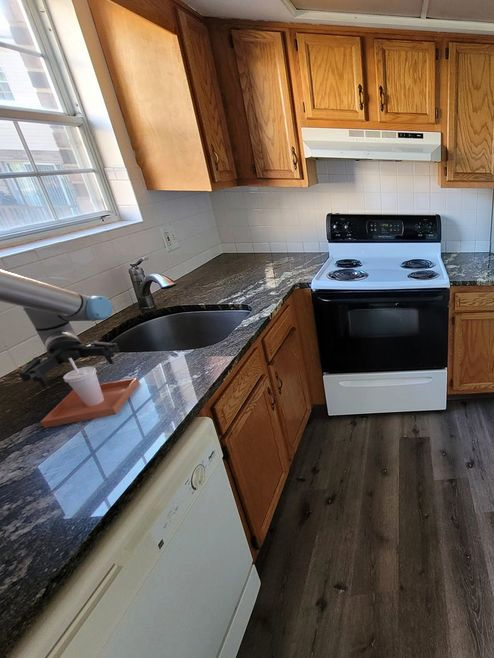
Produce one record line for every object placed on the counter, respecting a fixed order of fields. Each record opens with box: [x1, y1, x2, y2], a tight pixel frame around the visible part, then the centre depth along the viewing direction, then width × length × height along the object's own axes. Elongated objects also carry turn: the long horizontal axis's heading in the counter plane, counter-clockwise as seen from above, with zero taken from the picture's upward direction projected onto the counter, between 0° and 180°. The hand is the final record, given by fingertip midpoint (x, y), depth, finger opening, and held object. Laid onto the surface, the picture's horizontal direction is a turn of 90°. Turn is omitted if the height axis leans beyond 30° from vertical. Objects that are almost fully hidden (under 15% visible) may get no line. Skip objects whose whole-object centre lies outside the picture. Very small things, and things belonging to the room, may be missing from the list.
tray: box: [40, 377, 140, 429], centre depth 100 cm, size 15×15×2 cm
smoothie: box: [62, 358, 104, 406], centre depth 97 cm, size 6×6×14 cm
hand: (77, 370), depth 98 cm, fingers open, 13 cm apart
